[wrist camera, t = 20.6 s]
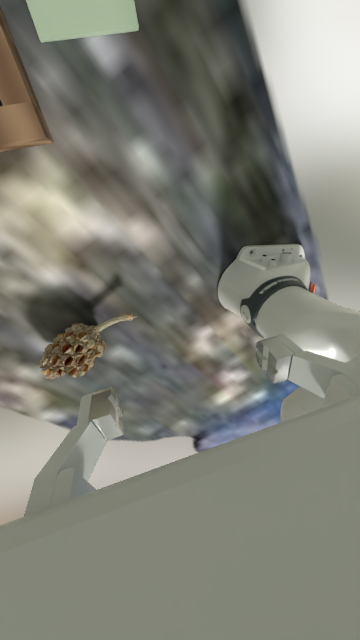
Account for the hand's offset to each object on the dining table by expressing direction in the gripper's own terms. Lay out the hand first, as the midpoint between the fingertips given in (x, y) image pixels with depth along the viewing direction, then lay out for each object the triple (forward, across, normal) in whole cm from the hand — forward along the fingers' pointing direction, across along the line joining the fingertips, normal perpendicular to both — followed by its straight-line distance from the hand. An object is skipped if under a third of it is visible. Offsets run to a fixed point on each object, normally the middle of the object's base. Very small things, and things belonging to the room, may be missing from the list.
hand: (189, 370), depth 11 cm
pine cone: (+34, -15, -15) cm, 40 cm away
